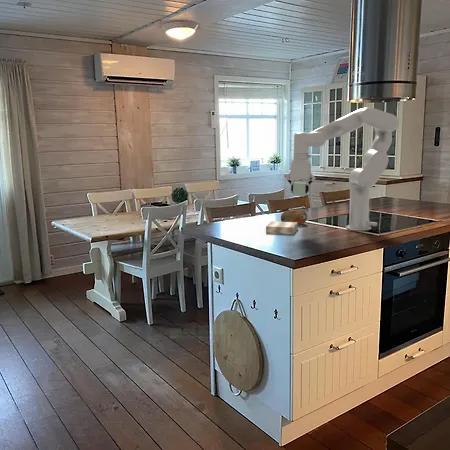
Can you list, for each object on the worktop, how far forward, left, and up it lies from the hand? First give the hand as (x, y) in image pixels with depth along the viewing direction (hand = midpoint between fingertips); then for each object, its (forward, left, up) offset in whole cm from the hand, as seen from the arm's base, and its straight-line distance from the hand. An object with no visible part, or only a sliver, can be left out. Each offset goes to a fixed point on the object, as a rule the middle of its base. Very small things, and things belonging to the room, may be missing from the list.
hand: (299, 192), depth 238 cm
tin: (+6, -18, -21) cm, 28 cm away
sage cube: (0, 0, -1) cm, 1 cm away
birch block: (+9, 0, -21) cm, 23 cm away
